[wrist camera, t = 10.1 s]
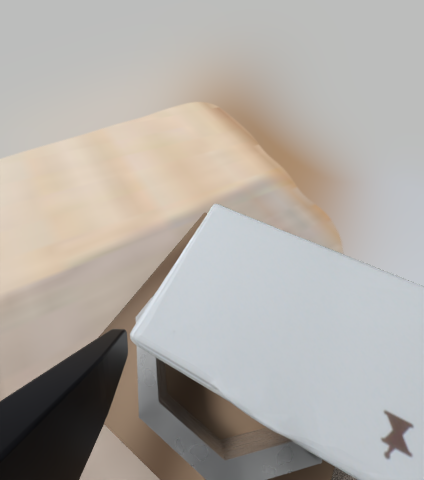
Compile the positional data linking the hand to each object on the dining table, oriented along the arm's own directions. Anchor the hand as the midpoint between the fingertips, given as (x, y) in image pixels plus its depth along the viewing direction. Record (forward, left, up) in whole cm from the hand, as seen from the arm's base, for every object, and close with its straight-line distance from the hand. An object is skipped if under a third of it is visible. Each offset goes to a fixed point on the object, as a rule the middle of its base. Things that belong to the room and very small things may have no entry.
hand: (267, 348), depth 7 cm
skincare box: (0, 0, -9) cm, 9 cm away
